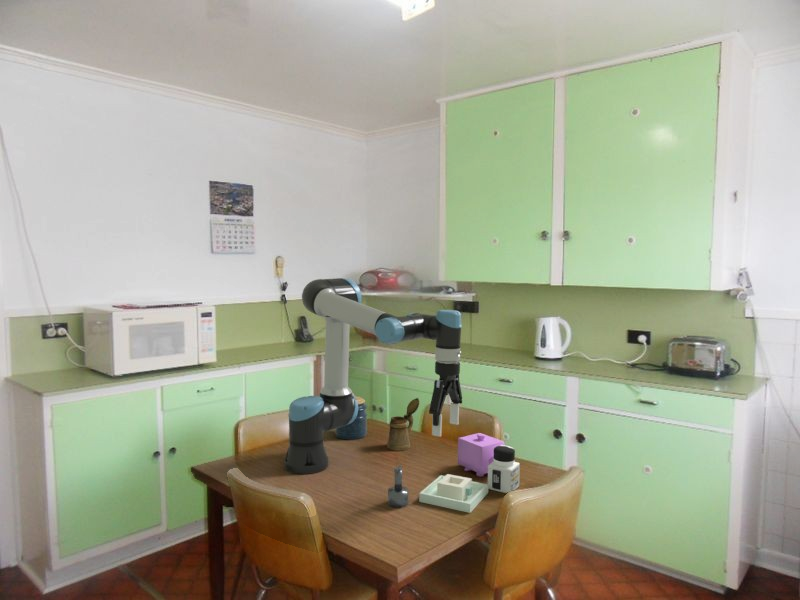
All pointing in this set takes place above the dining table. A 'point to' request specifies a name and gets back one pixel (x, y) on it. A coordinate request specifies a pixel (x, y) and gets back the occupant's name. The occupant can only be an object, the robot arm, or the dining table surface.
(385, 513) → the dining table surface
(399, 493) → the dark grey stemmed piece
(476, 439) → the teapot
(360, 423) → the canister
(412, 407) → the wooden mug
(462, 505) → the tray
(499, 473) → the container
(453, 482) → the cream square-holed block
